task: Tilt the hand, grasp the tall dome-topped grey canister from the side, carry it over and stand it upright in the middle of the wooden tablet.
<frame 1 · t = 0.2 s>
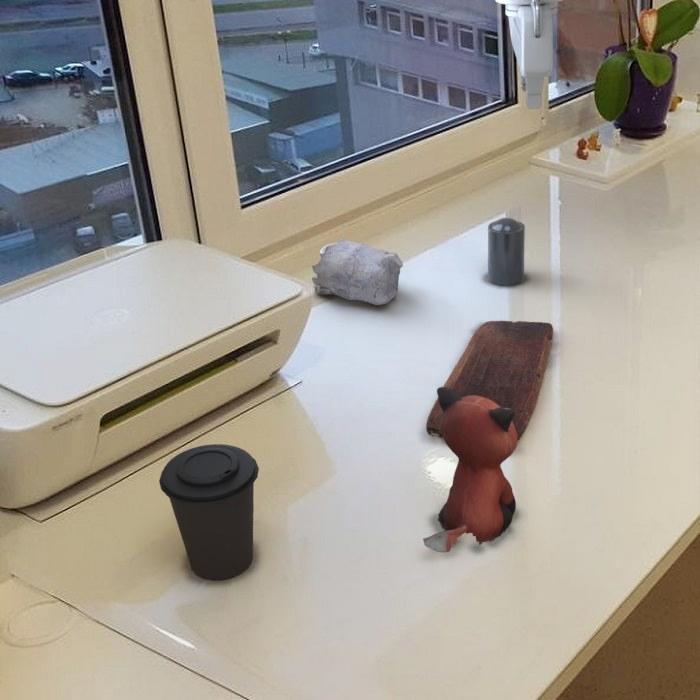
hand: (530, 98, 136), 21 cm above the worktop, tool pointing down, fingers open, 8 cm apart
dome-topped grey canister: (505, 278, 138), on the worktop
stuffed fox: (464, 530, 93), on the worktop
stone: (359, 296, 136), on the worktop
wooden tablet: (499, 382, 115), on the worktop
coffee cup: (222, 561, 91), on the worktop
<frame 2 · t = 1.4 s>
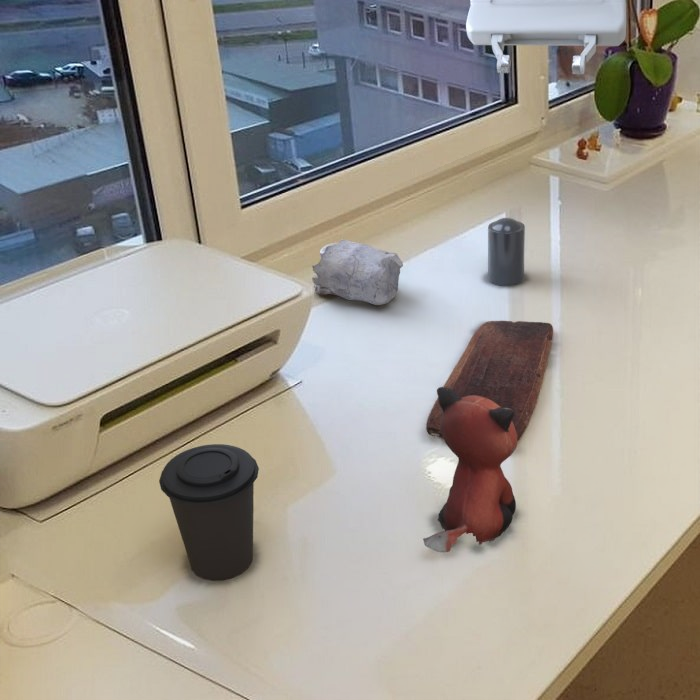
hand: (540, 71, 135), 24 cm above the worktop, tool tilted 45°, fingers open, 8 cm apart
nothing on the worktop moved.
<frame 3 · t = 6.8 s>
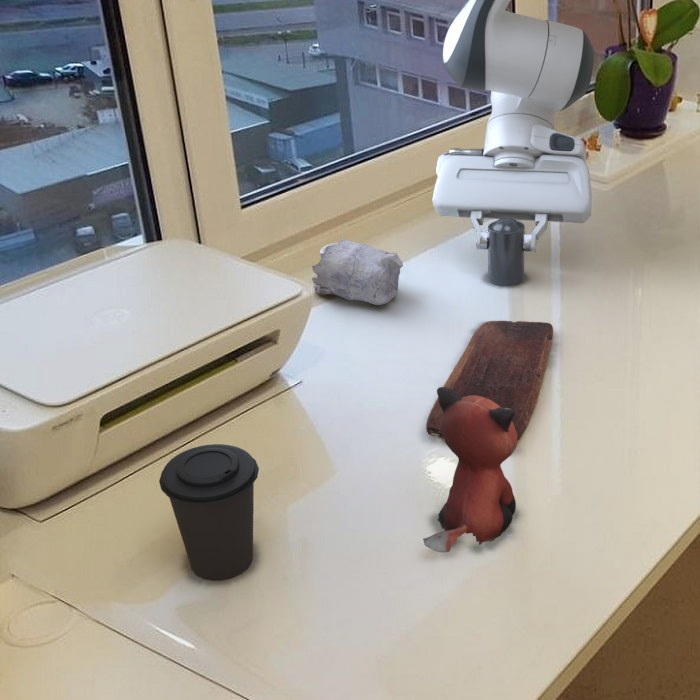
hand: (505, 249, 135), 4 cm above the worktop, tool tilted 45°, fingers closed on dome-topped grey canister, 4 cm apart
dome-topped grey canister: (505, 278, 138), on the worktop, touching gripper
everything else where it was.
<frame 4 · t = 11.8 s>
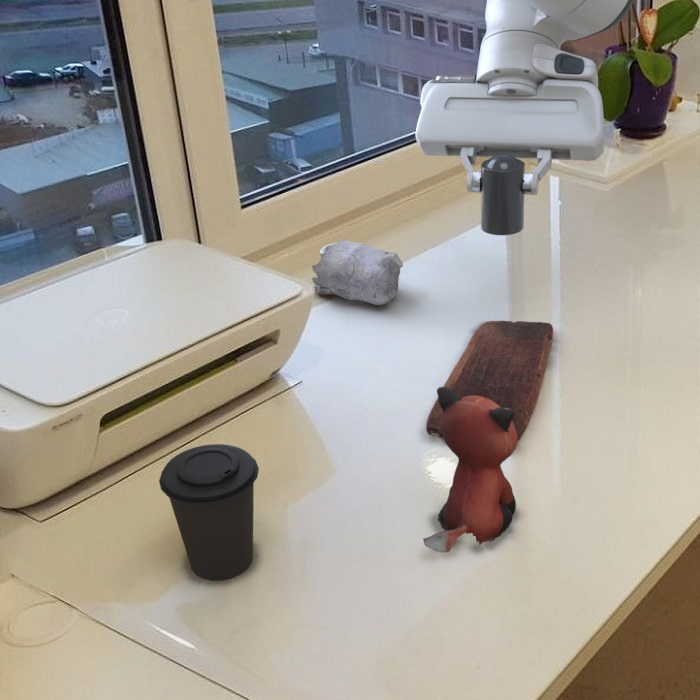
hand: (502, 191, 114), 18 cm above the worktop, tool tilted 45°, fingers closed on dome-topped grey canister, 4 cm apart
dome-topped grey canister: (502, 227, 116), point 14 cm above the worktop, touching gripper
everything else where it was.
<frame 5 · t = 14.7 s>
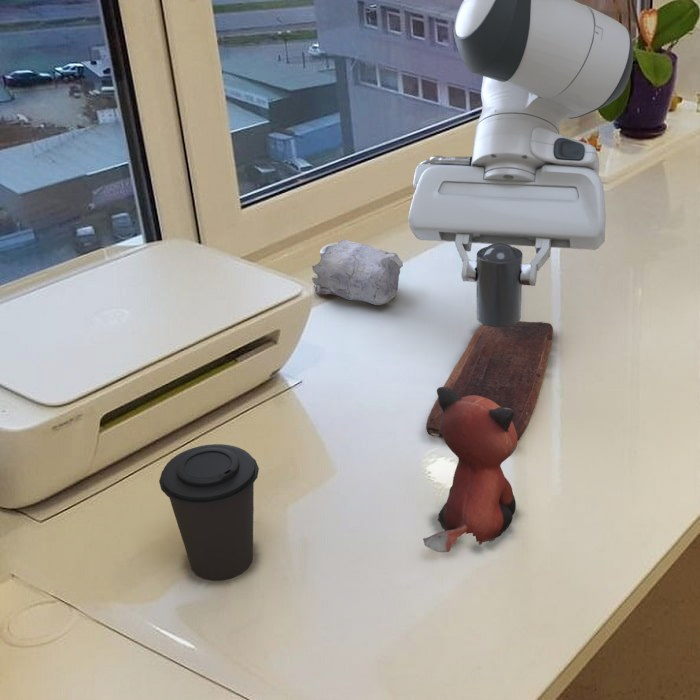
hand: (498, 281, 109), 12 cm above the worktop, tool tilted 45°, fingers closed on dome-topped grey canister, 4 cm apart
dome-topped grey canister: (498, 317, 111), point 8 cm above the worktop, touching gripper
everything else where it was.
when the fingers open (6 cm above the worktop, at t = 16.9 s): dome-topped grey canister stays where it is, resting on wooden tablet.
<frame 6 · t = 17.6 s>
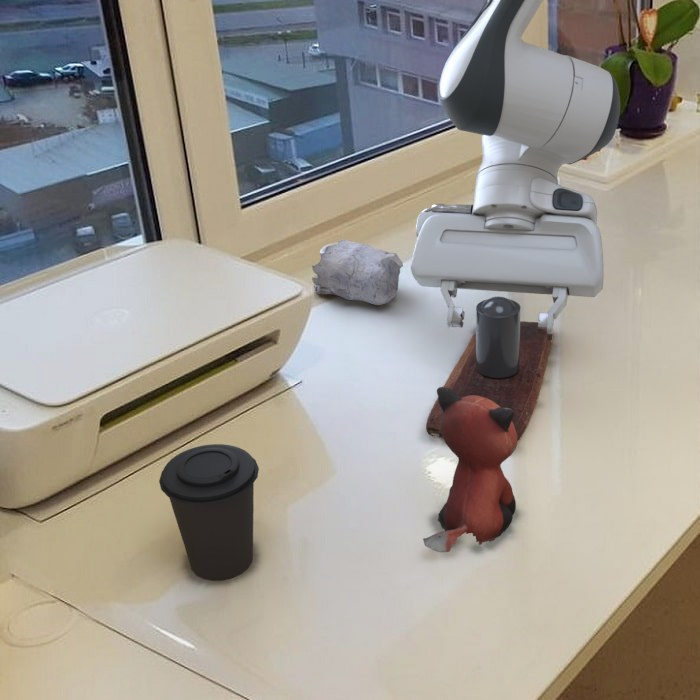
hand: (499, 329, 111), 7 cm above the worktop, tool tilted 45°, fingers open, 8 cm apart
dome-topped grey canister: (497, 367, 114), point 2 cm above the worktop, touching wooden tablet
wooden tablet: (499, 382, 115), on the worktop, touching dome-topped grey canister
everything else where it was.
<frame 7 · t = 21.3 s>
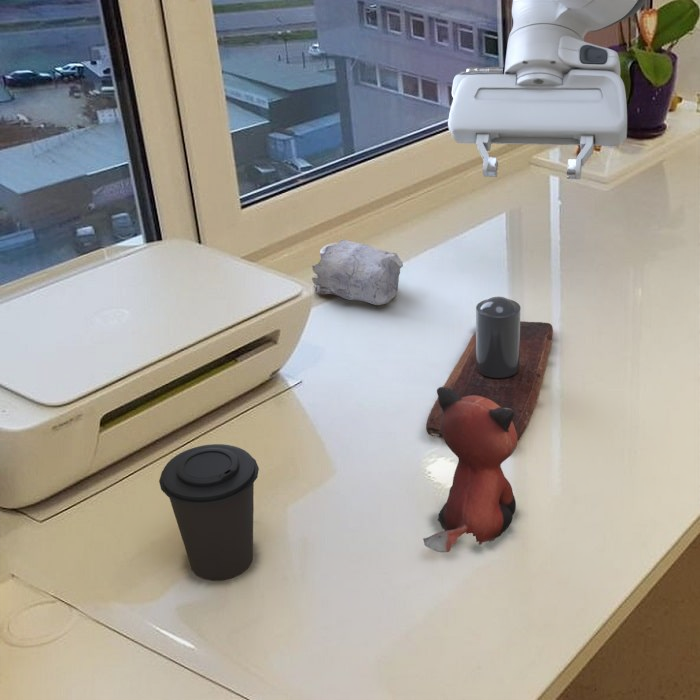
hand: (531, 175, 120), 17 cm above the worktop, tool tilted 45°, fingers open, 8 cm apart
nothing on the worktop moved.
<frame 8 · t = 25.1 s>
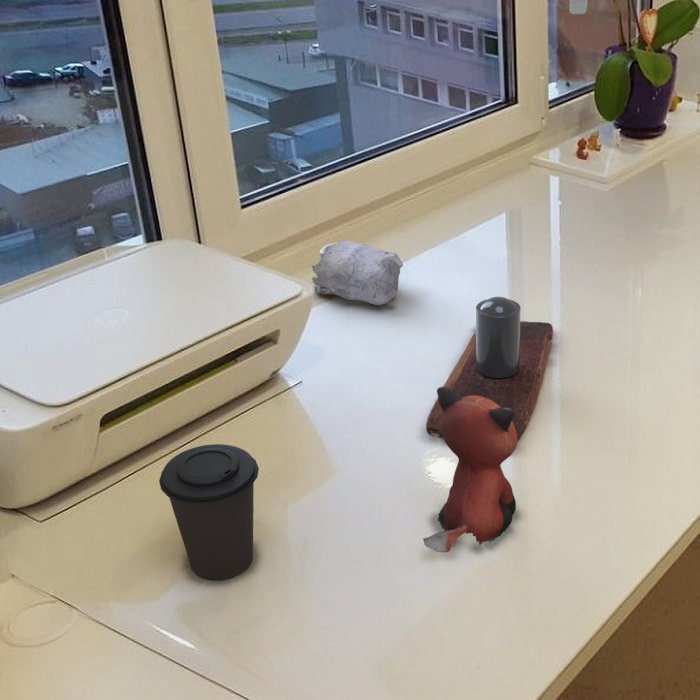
hand: (582, 4, 120), 34 cm above the worktop, tool pointing down, fingers open, 8 cm apart
nothing on the worktop moved.
at the end: dome-topped grey canister inside the target area on the wooden tablet (0.1 cm from its centre), point 1.8 cm above the wooden tablet's base; dome-topped grey canister tilted 0°; the gripper is holding nothing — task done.
